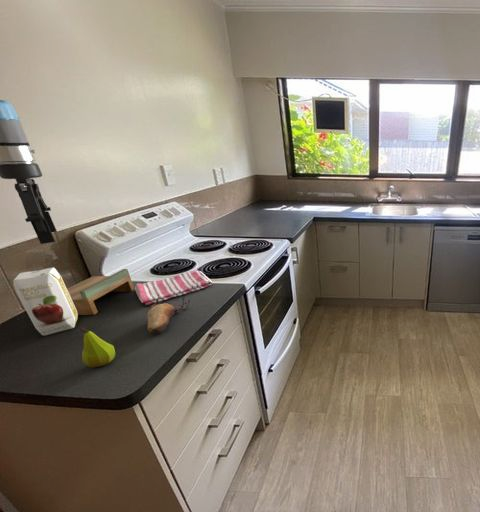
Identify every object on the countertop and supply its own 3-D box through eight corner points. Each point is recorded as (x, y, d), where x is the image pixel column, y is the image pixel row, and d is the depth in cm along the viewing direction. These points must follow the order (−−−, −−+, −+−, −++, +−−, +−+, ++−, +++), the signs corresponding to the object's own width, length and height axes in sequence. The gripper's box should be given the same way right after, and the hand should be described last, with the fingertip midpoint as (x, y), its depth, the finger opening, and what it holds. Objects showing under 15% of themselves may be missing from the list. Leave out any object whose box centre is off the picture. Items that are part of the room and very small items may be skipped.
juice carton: (44, 326, 91) (16, 272, 84) (82, 317, 96) (58, 265, 89) (37, 338, 85) (7, 281, 78) (78, 328, 90) (52, 273, 83)
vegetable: (189, 323, 88) (162, 301, 83) (155, 346, 86) (126, 324, 81) (196, 301, 101) (174, 281, 97) (167, 321, 99) (143, 301, 95)
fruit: (124, 354, 79) (109, 318, 75) (107, 371, 73) (89, 332, 69) (99, 356, 78) (82, 319, 74) (79, 373, 73) (60, 334, 68)
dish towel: (135, 291, 112) (132, 284, 111) (201, 273, 128) (199, 266, 127) (143, 308, 101) (140, 299, 100) (215, 285, 117) (213, 278, 116)
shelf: (51, 315, 97) (39, 292, 93) (98, 290, 113) (89, 269, 110) (94, 314, 97) (84, 291, 94) (134, 289, 114) (127, 268, 111)
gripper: (32, 164, 72) (66, 244, 80) (40, 160, 88) (67, 226, 96) (-16, 166, 67) (25, 250, 75) (1, 161, 83) (34, 231, 91)
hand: (49, 237), depth 86 cm, fingers open, 13 cm apart
